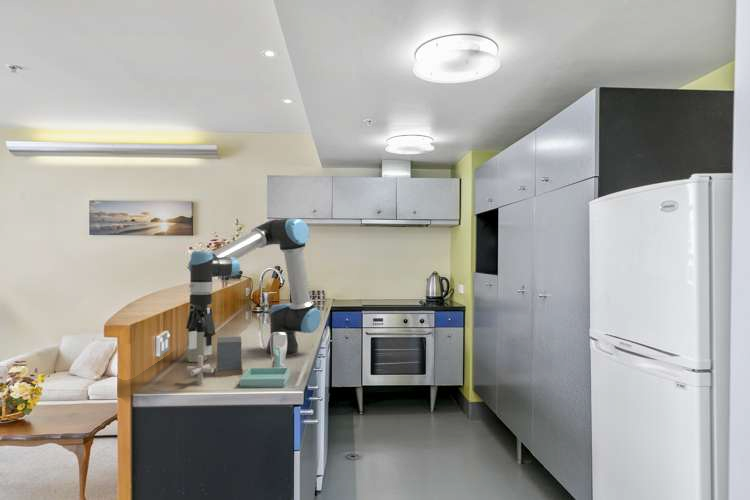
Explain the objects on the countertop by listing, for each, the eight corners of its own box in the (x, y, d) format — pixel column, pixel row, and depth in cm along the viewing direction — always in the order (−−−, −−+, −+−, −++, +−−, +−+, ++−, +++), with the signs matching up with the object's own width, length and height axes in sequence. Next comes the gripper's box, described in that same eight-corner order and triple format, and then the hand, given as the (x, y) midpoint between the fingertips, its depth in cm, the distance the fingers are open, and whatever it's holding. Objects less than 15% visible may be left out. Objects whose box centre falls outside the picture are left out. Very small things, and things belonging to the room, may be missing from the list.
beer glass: (290, 368, 182) (290, 332, 182) (281, 372, 176) (281, 335, 176) (275, 367, 184) (275, 331, 185) (266, 371, 178) (266, 334, 178)
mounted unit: (216, 368, 182) (216, 337, 182) (241, 366, 185) (242, 335, 185) (215, 376, 169) (215, 343, 169) (242, 374, 172) (242, 341, 172)
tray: (249, 375, 171) (249, 367, 171) (289, 375, 172) (289, 367, 172) (239, 387, 155) (239, 379, 156) (284, 387, 157) (284, 378, 157)
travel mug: (209, 358, 199) (210, 318, 199) (203, 362, 191) (203, 321, 191) (191, 358, 199) (192, 318, 199) (184, 362, 191) (185, 321, 191)
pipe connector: (204, 388, 155) (204, 359, 155) (179, 386, 157) (179, 358, 157) (220, 380, 165) (220, 353, 165) (196, 378, 167) (196, 352, 167)
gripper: (177, 291, 167) (176, 347, 167) (204, 296, 149) (203, 358, 149) (197, 291, 173) (196, 345, 172) (226, 295, 155) (224, 355, 154)
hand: (199, 351), depth 161 cm, fingers open, 13 cm apart
